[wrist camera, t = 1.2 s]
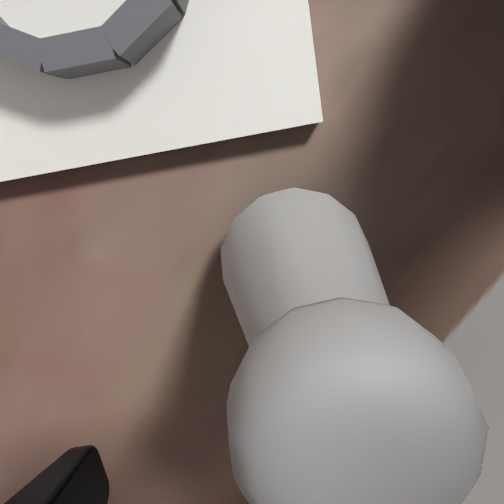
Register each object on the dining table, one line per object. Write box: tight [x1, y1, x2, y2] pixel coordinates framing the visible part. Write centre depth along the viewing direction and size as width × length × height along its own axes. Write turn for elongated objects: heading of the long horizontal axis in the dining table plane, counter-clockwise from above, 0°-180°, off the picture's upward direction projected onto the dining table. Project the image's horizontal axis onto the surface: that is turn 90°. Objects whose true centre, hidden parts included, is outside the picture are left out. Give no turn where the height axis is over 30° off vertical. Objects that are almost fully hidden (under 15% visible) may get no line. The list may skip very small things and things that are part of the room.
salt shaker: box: [220, 188, 488, 504], centre depth 12 cm, size 6×6×13 cm
